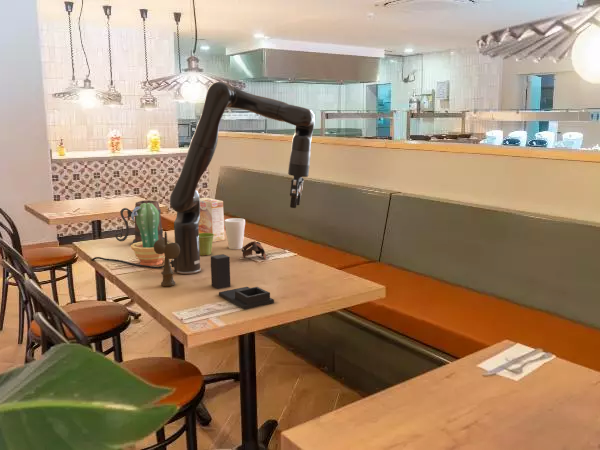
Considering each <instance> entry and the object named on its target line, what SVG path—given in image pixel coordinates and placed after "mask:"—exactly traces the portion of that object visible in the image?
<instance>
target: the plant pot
mask: <svg viewBox="0 0 600 450" xmlns="http://www.w3.org/2000/svg"><path fill="white" fill-rule="evenodd" d="M213 236H214V234H212V233H199V246H200V257H201V256H209V255H211V254H212V250H213V242H212V240H213Z"/></svg>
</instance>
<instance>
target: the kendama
mask: <svg viewBox="0 0 600 450" xmlns="http://www.w3.org/2000/svg"><path fill="white" fill-rule="evenodd" d="M164 238H165V240H164V239H160V240H157V241H156V242H155V244H154V251H155V252H156V253H157V254H163V253H164V254H165V256H164V261H163V265H164V268H162V269H163V270H162V271H161V276H162V280H161V282H160V285H161V287H166V288H168V287H172V286H175V285H176V281H175V279H174V274H175V273H174V270H173V269H172V266H171V264H170V262H171V260H173V259H174V258H176V257H178V255H179V253H180V247H179V245H178V244H177V243H175V241H172V242H169V241H168V232H167V231H164ZM168 242H169V243H168Z"/></svg>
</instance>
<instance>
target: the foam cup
mask: <svg viewBox="0 0 600 450" xmlns="http://www.w3.org/2000/svg"><path fill="white" fill-rule="evenodd" d="M245 227H246V218H245V219H244V218H241V217H240V218H239V217H231V218H226V219H224V230H225V235H226V240H227V246H228V249H229V250H240V249H241V250H242V249H243V247H244V237H245Z"/></svg>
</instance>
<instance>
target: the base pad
mask: <svg viewBox="0 0 600 450" xmlns="http://www.w3.org/2000/svg"><path fill="white" fill-rule="evenodd" d="M218 296H219V297H221V298H222V299H224V300H226V301H228V302H229V303H231V304H234V305H235V306H236V307H238V308H240V309H242V310H248V309H255V308H257V307H261V306H262V307H263V306H266V305H267V306H268V305H272V304H274V303H275V299H274V298H272V297H271V292H269V291H267V290H265V289H263V288H262V287H259V286H254V287H249V286H243V287H238V288H233V289H228V290H222V291H219V292H218Z"/></svg>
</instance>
